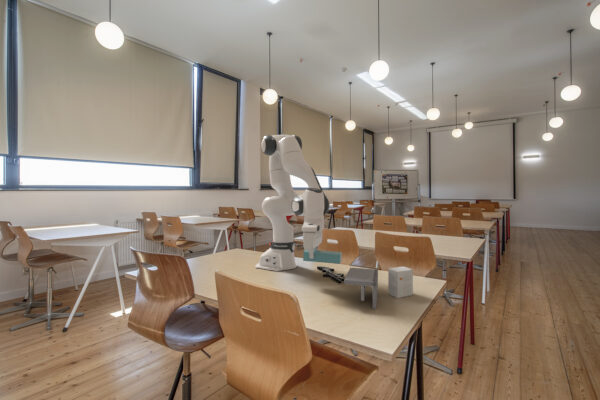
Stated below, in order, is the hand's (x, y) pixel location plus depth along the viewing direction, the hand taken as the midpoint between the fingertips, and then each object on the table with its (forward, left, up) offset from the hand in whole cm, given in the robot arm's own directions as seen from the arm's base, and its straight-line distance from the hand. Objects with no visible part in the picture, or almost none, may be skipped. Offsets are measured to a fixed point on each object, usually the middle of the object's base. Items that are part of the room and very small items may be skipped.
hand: (313, 256), depth 131 cm
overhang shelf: (+22, -10, -13) cm, 27 cm away
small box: (+36, -1, -13) cm, 39 cm away
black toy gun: (+4, +18, -14) cm, 23 cm away
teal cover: (+4, 0, -2) cm, 4 cm away
